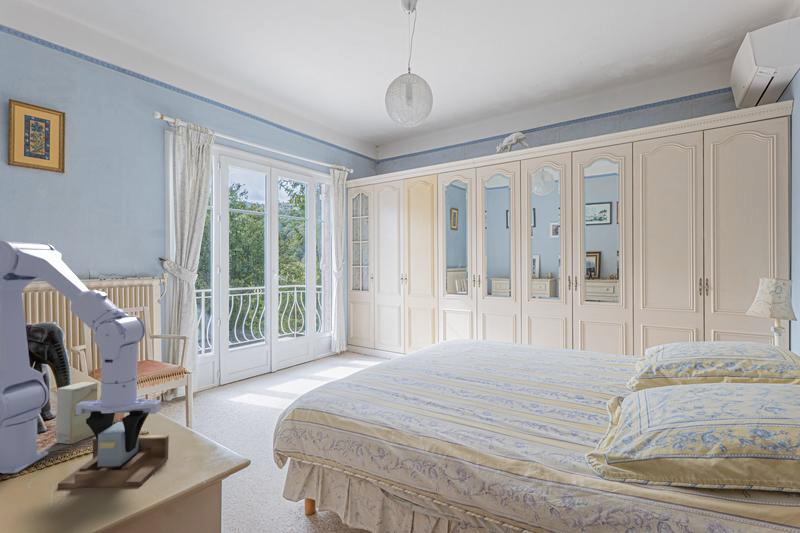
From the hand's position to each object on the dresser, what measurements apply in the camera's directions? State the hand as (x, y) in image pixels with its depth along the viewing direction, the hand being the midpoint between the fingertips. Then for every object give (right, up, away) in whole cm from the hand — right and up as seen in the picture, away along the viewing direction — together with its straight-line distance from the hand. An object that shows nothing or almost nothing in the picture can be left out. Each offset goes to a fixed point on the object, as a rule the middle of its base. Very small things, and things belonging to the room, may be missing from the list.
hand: (118, 449), depth 78 cm
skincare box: (-19, -4, +14) cm, 24 cm away
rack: (0, -4, 0) cm, 4 cm away
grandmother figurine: (-17, -4, +24) cm, 29 cm away
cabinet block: (0, -2, 0) cm, 2 cm away
